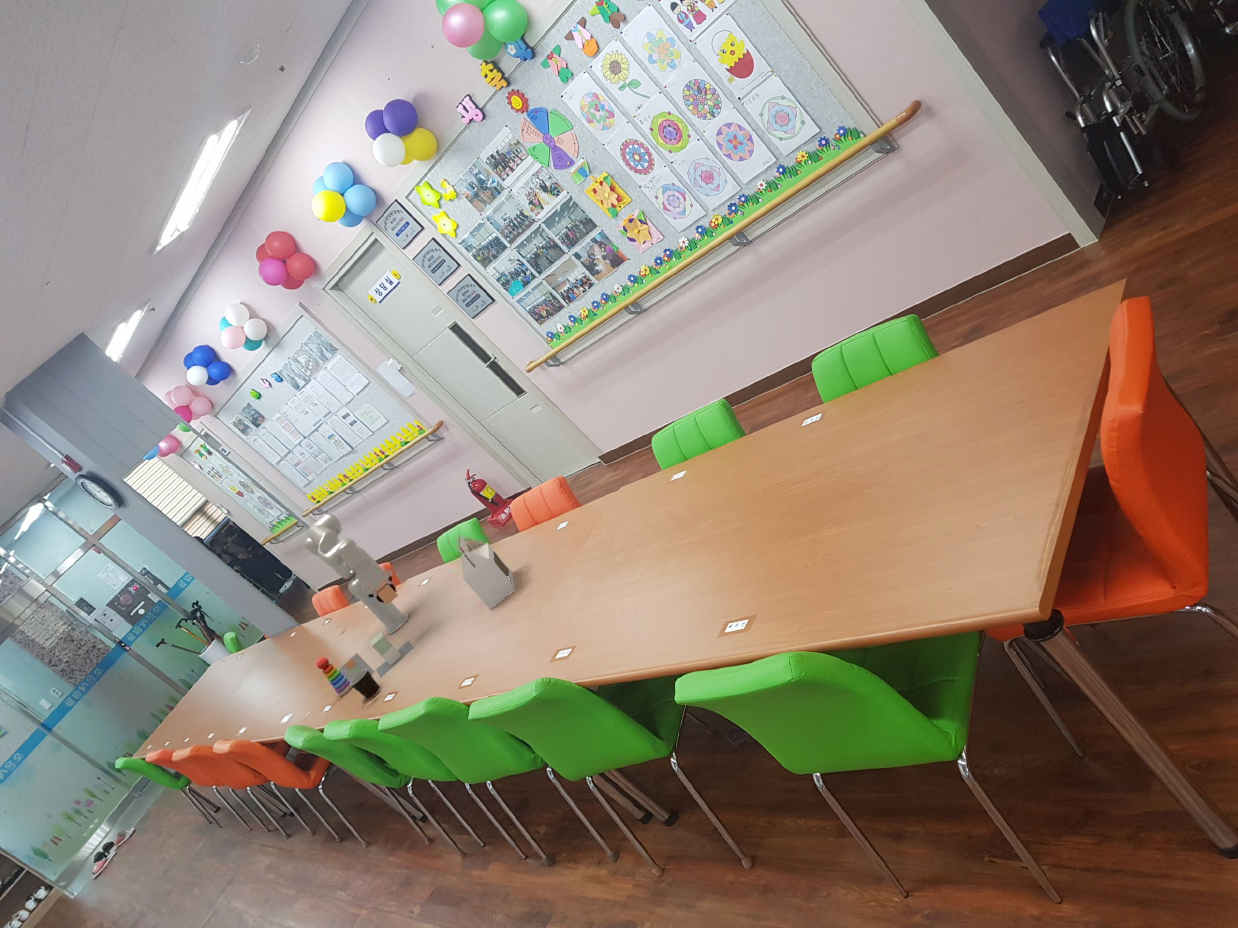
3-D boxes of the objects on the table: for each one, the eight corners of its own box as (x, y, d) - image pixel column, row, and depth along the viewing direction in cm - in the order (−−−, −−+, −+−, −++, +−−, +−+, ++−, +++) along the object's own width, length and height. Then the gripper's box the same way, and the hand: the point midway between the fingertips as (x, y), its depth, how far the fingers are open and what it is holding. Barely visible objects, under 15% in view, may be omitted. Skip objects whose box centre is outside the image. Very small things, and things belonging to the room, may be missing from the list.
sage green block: (378, 651, 353) (369, 641, 351) (389, 641, 355) (380, 631, 353) (381, 655, 346) (372, 645, 344) (392, 645, 347) (383, 635, 346)
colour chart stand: (356, 688, 355) (337, 668, 352) (374, 671, 358) (355, 651, 355) (357, 690, 351) (338, 670, 348) (376, 673, 355) (357, 653, 351)
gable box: (488, 591, 353) (447, 542, 345) (513, 572, 353) (472, 523, 345) (490, 610, 331) (446, 559, 324) (516, 590, 332) (472, 539, 324)
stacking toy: (349, 692, 356) (319, 662, 351) (336, 699, 359) (307, 669, 354) (357, 680, 363) (328, 650, 358) (345, 687, 366) (316, 657, 361)
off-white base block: (387, 661, 355) (378, 651, 353) (398, 651, 356) (389, 641, 355) (390, 665, 347) (381, 655, 346) (401, 655, 349) (392, 645, 347)
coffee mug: (368, 693, 339) (352, 677, 336) (385, 682, 338) (369, 665, 335) (362, 710, 328) (345, 692, 325) (379, 698, 327) (362, 680, 324)
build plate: (377, 671, 356) (375, 669, 355) (410, 642, 361) (408, 640, 361) (382, 679, 343) (380, 677, 343) (416, 649, 349) (414, 647, 348)
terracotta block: (384, 601, 354) (375, 591, 352) (395, 592, 355) (386, 582, 354) (387, 605, 346) (377, 594, 345) (398, 595, 348) (388, 585, 346)
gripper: (346, 581, 339) (374, 612, 344) (379, 552, 345) (406, 584, 350) (343, 578, 346) (372, 609, 351) (376, 551, 352) (403, 581, 357)
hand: (389, 596), depth 351 cm, fingers closed on terracotta block, 6 cm apart
